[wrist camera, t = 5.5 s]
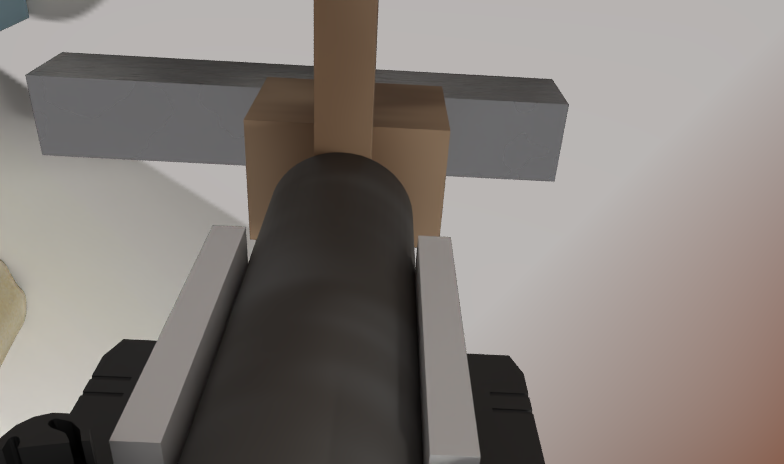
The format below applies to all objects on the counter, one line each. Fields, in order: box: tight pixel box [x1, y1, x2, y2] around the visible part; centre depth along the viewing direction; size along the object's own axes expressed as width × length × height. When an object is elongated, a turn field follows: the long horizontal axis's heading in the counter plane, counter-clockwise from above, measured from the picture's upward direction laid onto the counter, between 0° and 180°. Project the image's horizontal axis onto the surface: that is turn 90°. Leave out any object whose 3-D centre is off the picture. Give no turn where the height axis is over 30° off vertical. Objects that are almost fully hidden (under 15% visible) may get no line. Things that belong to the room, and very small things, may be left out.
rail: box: [25, 52, 569, 181], centre depth 26 cm, size 19×3×3 cm, turn 87°
